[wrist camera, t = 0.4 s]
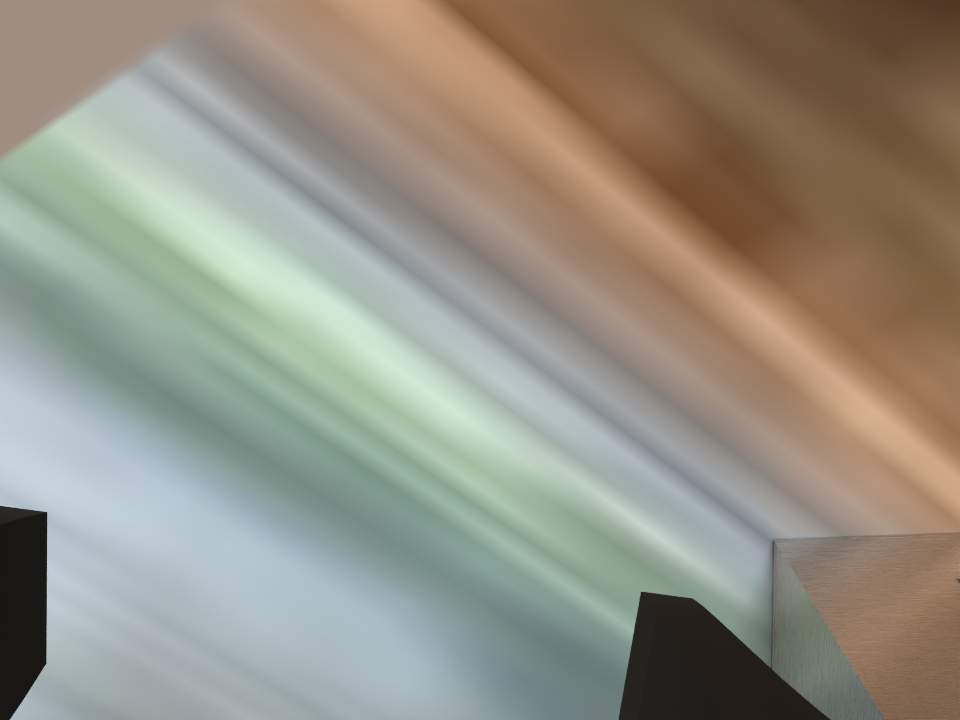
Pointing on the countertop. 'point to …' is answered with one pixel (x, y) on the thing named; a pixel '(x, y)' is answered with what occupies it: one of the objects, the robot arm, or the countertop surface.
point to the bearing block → (870, 625)
